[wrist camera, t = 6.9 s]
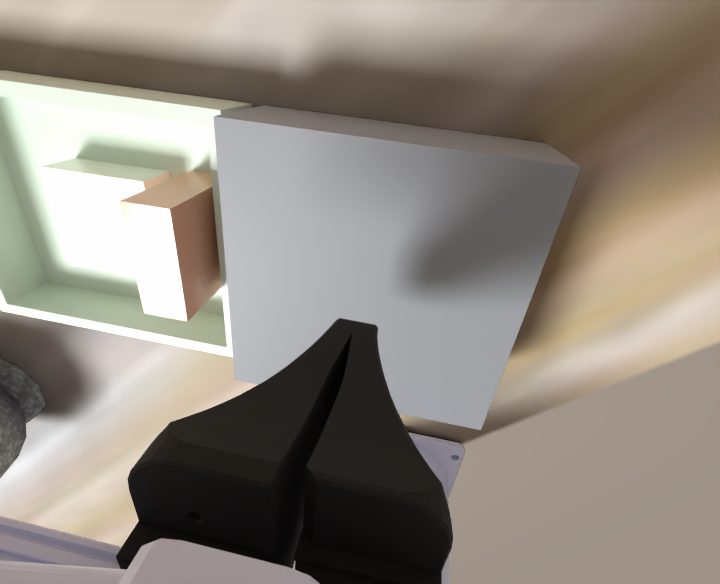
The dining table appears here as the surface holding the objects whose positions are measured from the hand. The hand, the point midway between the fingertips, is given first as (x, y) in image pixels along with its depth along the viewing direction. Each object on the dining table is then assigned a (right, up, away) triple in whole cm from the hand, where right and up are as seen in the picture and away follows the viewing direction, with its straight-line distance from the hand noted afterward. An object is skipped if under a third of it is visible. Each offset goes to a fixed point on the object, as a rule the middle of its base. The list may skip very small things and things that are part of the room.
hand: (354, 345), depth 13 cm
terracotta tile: (-7, +4, +5) cm, 9 cm away
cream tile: (-12, +5, +6) cm, 14 cm away
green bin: (-12, +6, +8) cm, 15 cm away
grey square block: (+1, +4, +6) cm, 8 cm away
